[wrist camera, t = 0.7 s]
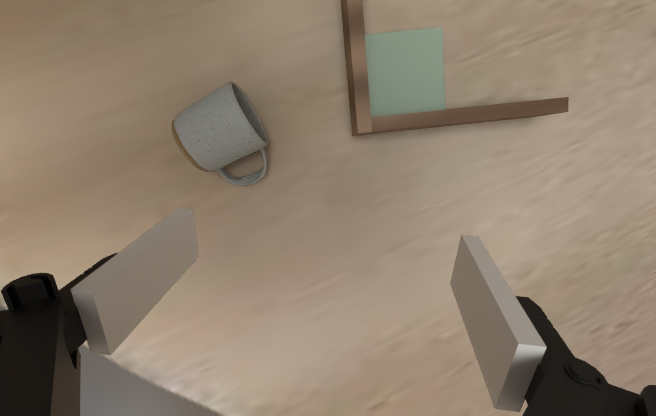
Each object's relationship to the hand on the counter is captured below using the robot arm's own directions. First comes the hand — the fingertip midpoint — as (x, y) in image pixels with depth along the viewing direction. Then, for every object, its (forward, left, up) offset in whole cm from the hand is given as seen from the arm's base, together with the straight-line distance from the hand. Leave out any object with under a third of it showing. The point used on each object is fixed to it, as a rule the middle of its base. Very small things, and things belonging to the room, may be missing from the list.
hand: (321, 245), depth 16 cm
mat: (-12, +11, -26) cm, 31 cm away
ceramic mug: (-7, -10, -27) cm, 29 cm away
